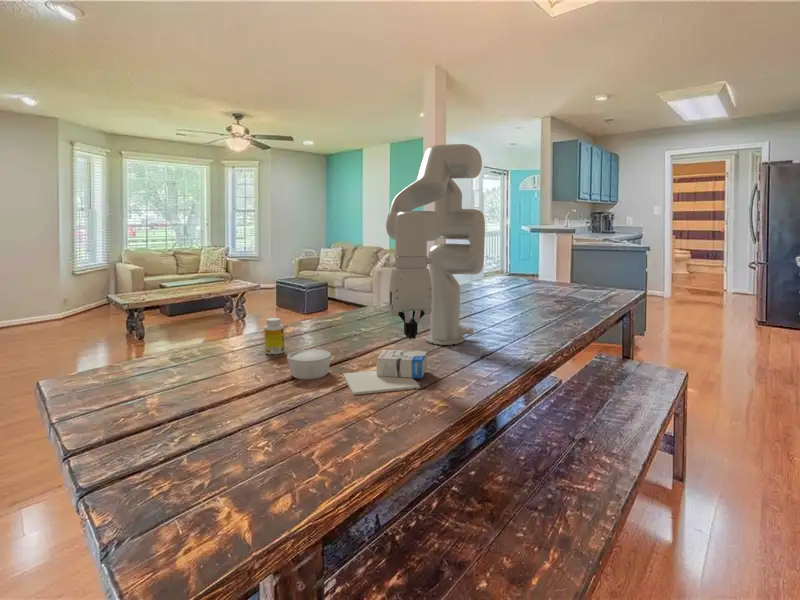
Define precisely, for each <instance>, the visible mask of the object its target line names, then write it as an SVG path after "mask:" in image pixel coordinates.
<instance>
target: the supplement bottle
mask: <svg viewBox="0 0 800 600" xmlns="http://www.w3.org/2000/svg"><path fill="white" fill-rule="evenodd" d="M281 322H282V321H281V318H280V317H279V318H278V317H271V318H266V325H264V327H263V331H264V332H263V333H264V337H263V338H264V351H265V353H266V354H267V355H271V354H274V355H280V354H283V353H284V352H285V339H284V337H285V333H284V325H282V324H281Z"/></svg>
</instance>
